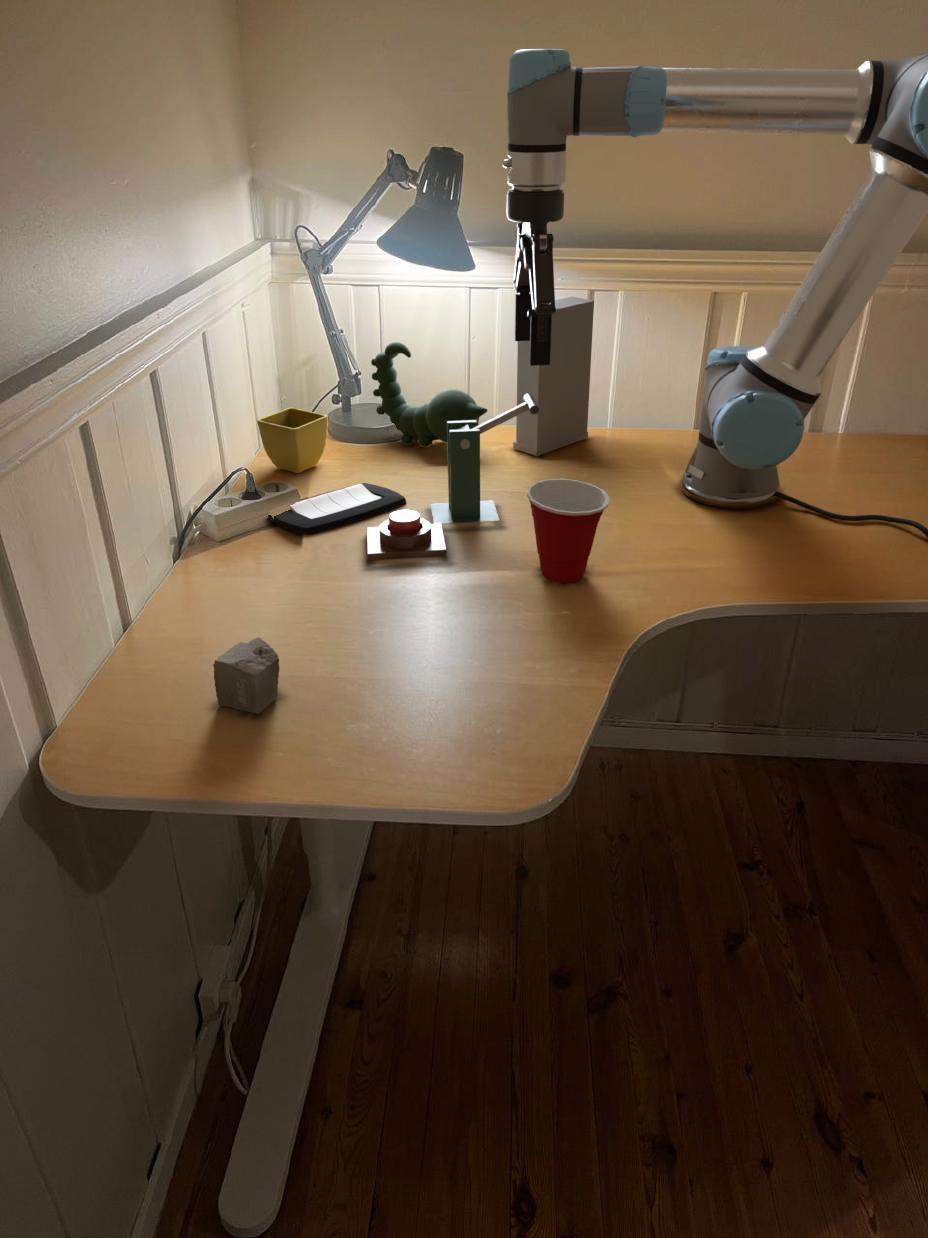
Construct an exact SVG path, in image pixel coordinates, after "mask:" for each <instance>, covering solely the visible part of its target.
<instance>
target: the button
mask: <svg viewBox="0 0 928 1238" xmlns="http://www.w3.org/2000/svg"><path fill="white" fill-rule="evenodd" d="M420 518H421V514H420V512H418V511H416V510H412V509H399V510H395V511H393V512H391V513H390V514H388V519H389V528H390V531H391V532H392V533H397V534H411V533H415V532H418V531H419V530H420V529H421V524H420Z"/></svg>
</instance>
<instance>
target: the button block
mask: <svg viewBox="0 0 928 1238" xmlns="http://www.w3.org/2000/svg"><path fill="white" fill-rule="evenodd" d="M420 524H421V529H420V530H419V531H418V532H415V533H411V534H397V533H392V532H391V531H390V528H389V518H388V519H385V520H384V521H382V522H381V523H380V524H379V525H378V526H369V527H368V526H367V527H366V558H367V561H368V562H369V561H385V560H386V561H387V560H405V559H425V558H441V557H444V558H445V557H447V556H448V550H447V545H446V539H445V534H444V528H443V524H441V523H440V524H434V523H431V522H430V521H428V520H427V519H426V518H424V517H420Z"/></svg>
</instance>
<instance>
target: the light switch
mask: <svg viewBox="0 0 928 1238" xmlns="http://www.w3.org/2000/svg"><path fill="white" fill-rule="evenodd" d="M300 499H301V501H299V502H296V503H295V504H293V505H290V510H288V511H285V512H283V513H281V514H279V515H276V516H274V519H273V518H272V516H271V515H268V514H267V518H269V520H270V521H271V522H272V523H274V524H275V525H277V526H279V527H281V528H282V529H283V528H284V529H286V530H289V531H291V532H295V533H299V534H301V535H306V536H307V535H313V534H317V533H320V532H324V531H328V530H332V529H335V528H339V527H343V526H345V525H346V526H347V525H350V524H353V523H356V522H360V521H362V520H365V519H368V518H372V517H375V516H378V515H380V514H383V513H386V512H389V511H392V510H395V509H396V508H397V509H398V508H400V507H402V506H405V505H407V499H406V497H405V496H404V495H403V494H400V493H399V492H397V491H394V490H392V489H390V488H387V487H385V486H380V485H377V484H373V483H367V482H362V483H357V484H353V485H349V486H345V487H342V488H339V489H333V490H331V491H327V492H323V493H320V494H319V493H318V494H316V495H313V496H309V497H308V496H307V497H304V498H300Z"/></svg>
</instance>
